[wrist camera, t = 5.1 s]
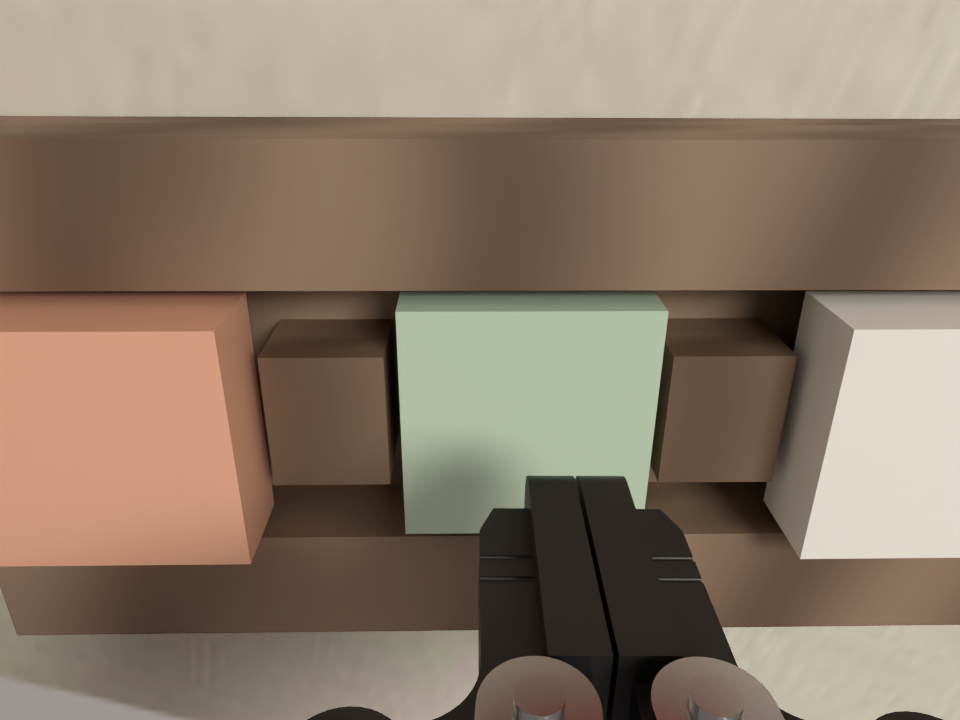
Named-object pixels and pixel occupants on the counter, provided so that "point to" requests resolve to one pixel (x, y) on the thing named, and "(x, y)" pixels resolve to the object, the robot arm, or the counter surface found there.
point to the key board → (481, 267)
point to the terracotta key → (130, 430)
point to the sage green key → (522, 396)
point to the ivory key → (872, 428)
